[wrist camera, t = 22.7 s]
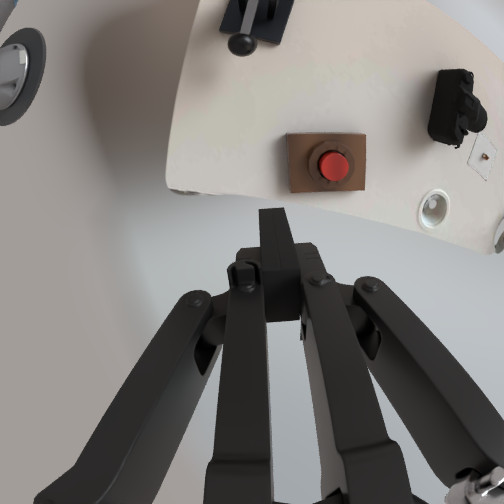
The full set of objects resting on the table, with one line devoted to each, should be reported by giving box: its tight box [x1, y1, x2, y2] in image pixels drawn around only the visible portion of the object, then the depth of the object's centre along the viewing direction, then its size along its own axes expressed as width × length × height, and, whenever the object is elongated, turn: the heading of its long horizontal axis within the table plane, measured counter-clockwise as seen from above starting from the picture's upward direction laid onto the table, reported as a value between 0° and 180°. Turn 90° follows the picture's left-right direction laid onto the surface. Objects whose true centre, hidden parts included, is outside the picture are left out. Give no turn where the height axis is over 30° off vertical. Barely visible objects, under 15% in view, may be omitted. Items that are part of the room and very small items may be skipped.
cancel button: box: [319, 152, 349, 181], centre depth 35 cm, size 4×4×2 cm
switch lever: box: [228, 0, 259, 57], centre depth 21 cm, size 14×4×4 cm
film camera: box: [428, 69, 487, 149], centre depth 29 cm, size 15×10×9 cm, turn 169°
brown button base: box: [286, 132, 366, 193], centre depth 38 cm, size 12×9×4 cm
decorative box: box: [468, 132, 498, 180], centre depth 35 cm, size 8×8×2 cm
